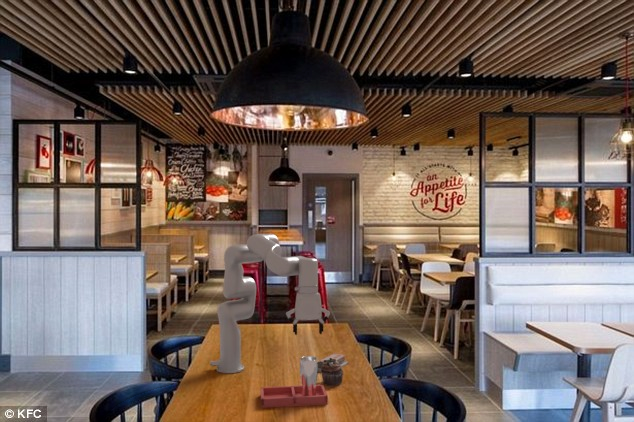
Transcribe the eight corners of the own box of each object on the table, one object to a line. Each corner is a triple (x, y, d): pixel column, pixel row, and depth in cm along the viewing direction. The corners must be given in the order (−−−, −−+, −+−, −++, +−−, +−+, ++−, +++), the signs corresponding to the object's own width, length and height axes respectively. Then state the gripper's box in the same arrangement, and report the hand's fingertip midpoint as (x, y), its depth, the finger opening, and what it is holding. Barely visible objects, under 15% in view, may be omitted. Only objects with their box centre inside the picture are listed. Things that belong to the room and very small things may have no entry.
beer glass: (304, 401, 199) (304, 361, 199) (297, 395, 206) (296, 357, 206) (321, 398, 203) (320, 359, 203) (312, 392, 209) (312, 355, 209)
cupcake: (336, 387, 217) (336, 363, 217) (316, 383, 222) (316, 360, 222) (347, 381, 225) (347, 358, 225) (328, 377, 230) (328, 354, 230)
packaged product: (330, 351, 256) (348, 354, 251) (330, 361, 256) (348, 364, 251) (311, 360, 240) (331, 363, 235) (311, 371, 240) (331, 374, 235)
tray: (261, 407, 195) (261, 399, 195) (260, 395, 208) (260, 387, 208) (327, 404, 198) (327, 396, 198) (323, 392, 211) (323, 384, 211)
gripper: (286, 291, 199) (286, 336, 199) (331, 291, 201) (331, 335, 201) (285, 288, 206) (285, 332, 207) (328, 288, 209) (328, 330, 209)
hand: (308, 333), depth 204 cm, fingers open, 9 cm apart
